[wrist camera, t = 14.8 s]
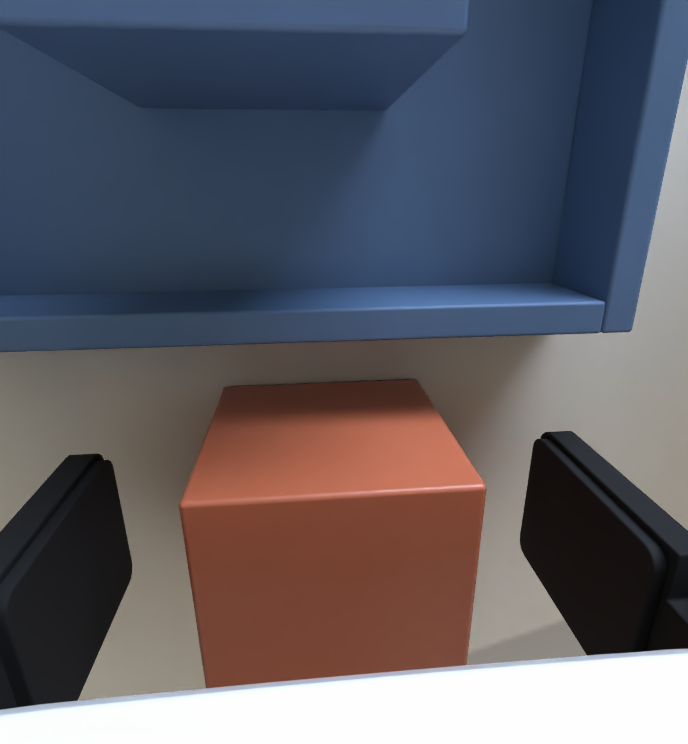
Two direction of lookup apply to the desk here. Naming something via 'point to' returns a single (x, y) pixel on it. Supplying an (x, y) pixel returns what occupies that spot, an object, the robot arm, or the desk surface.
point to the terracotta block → (330, 534)
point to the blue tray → (348, 195)
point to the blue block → (244, 48)
